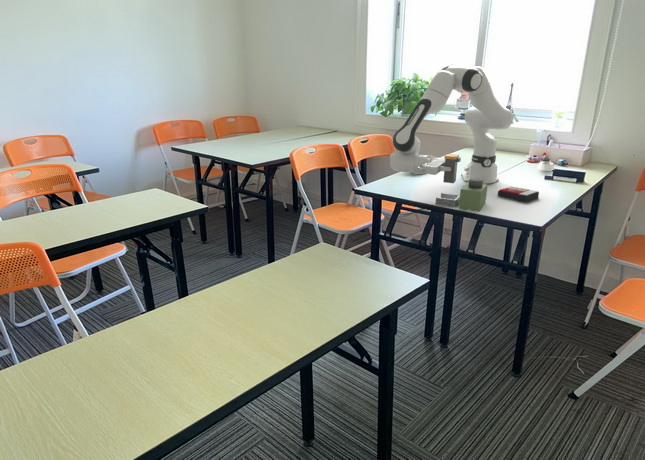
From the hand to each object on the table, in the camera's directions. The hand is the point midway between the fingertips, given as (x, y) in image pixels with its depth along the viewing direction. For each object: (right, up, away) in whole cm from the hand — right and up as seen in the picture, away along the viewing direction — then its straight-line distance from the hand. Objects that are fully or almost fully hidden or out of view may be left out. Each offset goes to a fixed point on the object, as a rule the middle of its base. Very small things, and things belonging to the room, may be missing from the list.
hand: (452, 167), depth 213 cm
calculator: (+35, -13, +13) cm, 39 cm away
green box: (+9, -17, +1) cm, 19 cm away
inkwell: (+70, +6, +61) cm, 93 cm away
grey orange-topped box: (-1, -6, +3) cm, 7 cm away
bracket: (0, -15, +6) cm, 17 cm away
